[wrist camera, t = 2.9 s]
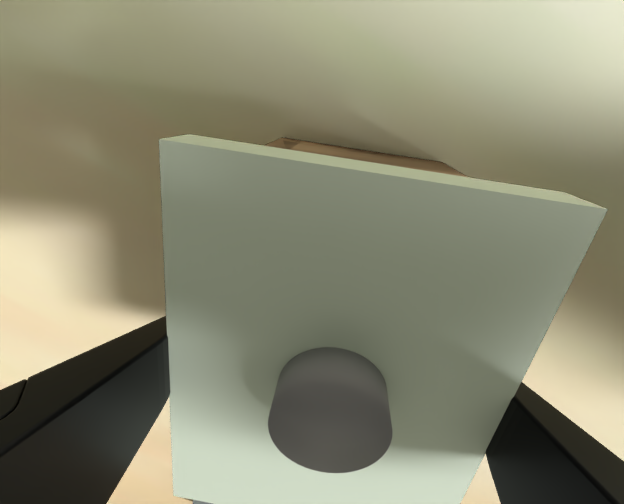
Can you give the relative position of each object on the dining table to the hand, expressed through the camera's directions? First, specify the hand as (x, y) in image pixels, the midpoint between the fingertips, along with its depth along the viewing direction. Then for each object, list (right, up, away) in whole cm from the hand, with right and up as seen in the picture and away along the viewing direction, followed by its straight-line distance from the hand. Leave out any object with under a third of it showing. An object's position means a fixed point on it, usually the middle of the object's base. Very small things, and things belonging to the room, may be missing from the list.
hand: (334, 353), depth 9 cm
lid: (0, 0, +1) cm, 1 cm away
